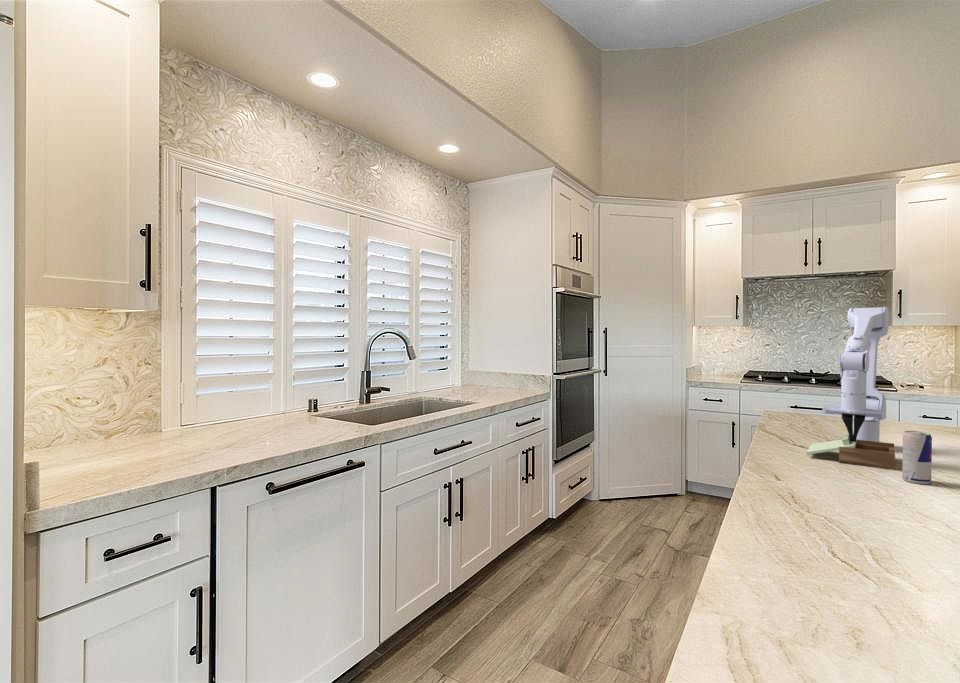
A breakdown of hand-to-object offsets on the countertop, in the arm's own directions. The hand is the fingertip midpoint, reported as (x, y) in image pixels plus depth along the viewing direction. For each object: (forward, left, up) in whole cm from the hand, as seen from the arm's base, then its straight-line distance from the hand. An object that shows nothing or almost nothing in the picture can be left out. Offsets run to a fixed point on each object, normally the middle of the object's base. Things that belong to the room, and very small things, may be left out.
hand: (853, 440), depth 142 cm
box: (0, +3, -5) cm, 6 cm away
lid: (0, -5, -2) cm, 5 cm away
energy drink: (+16, +13, -5) cm, 21 cm away
